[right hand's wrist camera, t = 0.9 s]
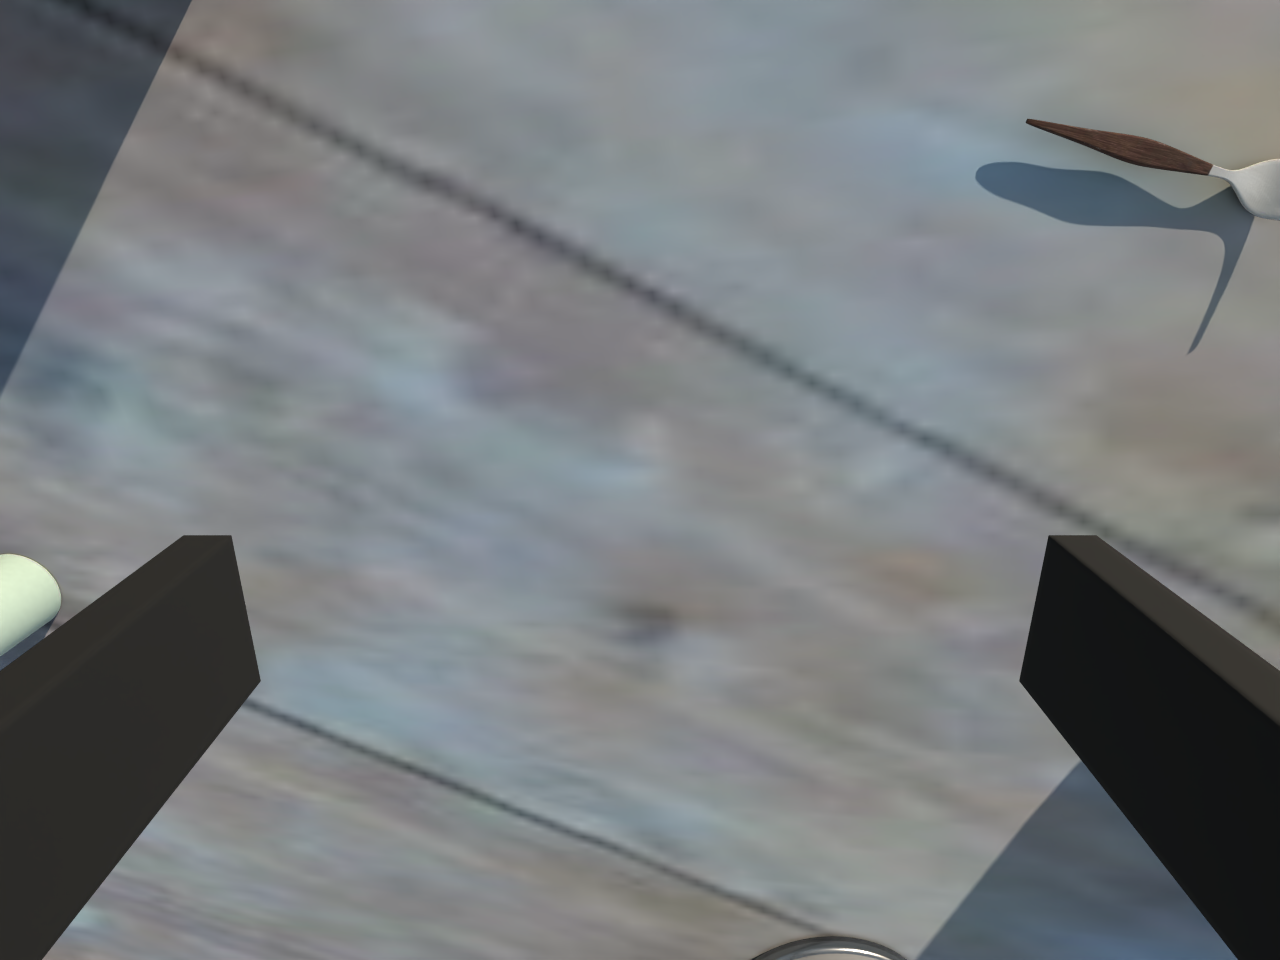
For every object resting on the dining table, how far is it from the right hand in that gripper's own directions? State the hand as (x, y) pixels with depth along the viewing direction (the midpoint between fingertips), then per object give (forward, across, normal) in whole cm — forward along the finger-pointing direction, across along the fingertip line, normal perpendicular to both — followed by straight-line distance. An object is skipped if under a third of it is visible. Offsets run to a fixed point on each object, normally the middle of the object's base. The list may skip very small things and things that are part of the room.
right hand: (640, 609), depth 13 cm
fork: (+28, -25, -8) cm, 39 cm away
